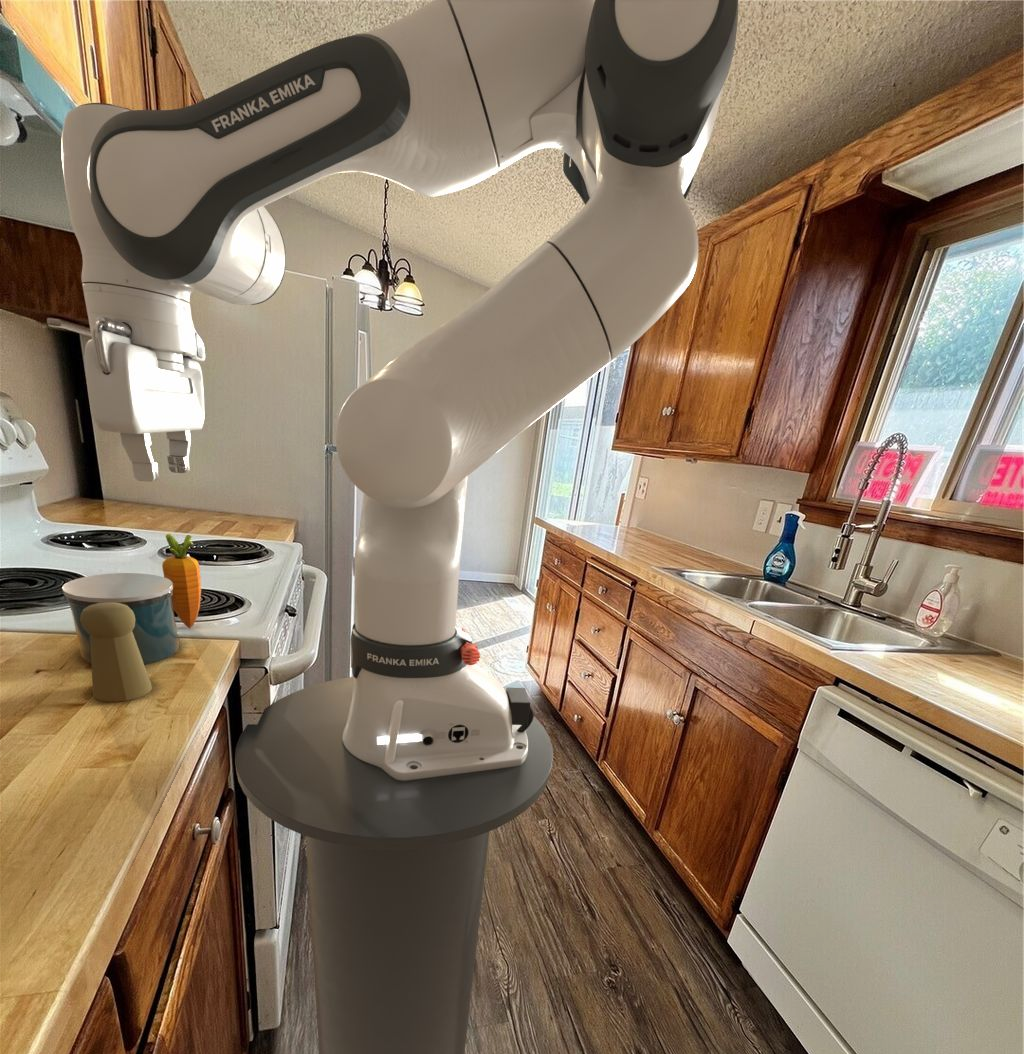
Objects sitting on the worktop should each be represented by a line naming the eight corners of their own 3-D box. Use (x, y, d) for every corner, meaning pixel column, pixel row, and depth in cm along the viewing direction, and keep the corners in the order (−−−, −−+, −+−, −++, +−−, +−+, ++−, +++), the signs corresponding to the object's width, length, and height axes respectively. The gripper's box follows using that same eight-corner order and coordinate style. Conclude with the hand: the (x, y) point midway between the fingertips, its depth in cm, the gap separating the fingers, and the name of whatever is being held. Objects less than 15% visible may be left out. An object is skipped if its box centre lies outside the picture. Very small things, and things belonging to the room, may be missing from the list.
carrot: (203, 620, 92) (191, 529, 86) (210, 630, 89) (198, 535, 82) (168, 624, 89) (153, 530, 83) (175, 634, 86) (160, 536, 79)
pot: (194, 636, 86) (185, 575, 82) (163, 668, 75) (152, 600, 71) (103, 633, 83) (90, 570, 79) (58, 666, 72) (40, 595, 68)
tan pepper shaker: (100, 681, 70) (81, 597, 65) (156, 679, 72) (141, 597, 67) (86, 703, 65) (64, 613, 60) (146, 700, 67) (130, 613, 62)
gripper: (134, 318, 47) (160, 490, 52) (208, 345, 65) (222, 471, 70) (48, 306, 45) (84, 483, 51) (148, 337, 63) (167, 466, 69)
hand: (164, 476), depth 61 cm, fingers open, 8 cm apart
